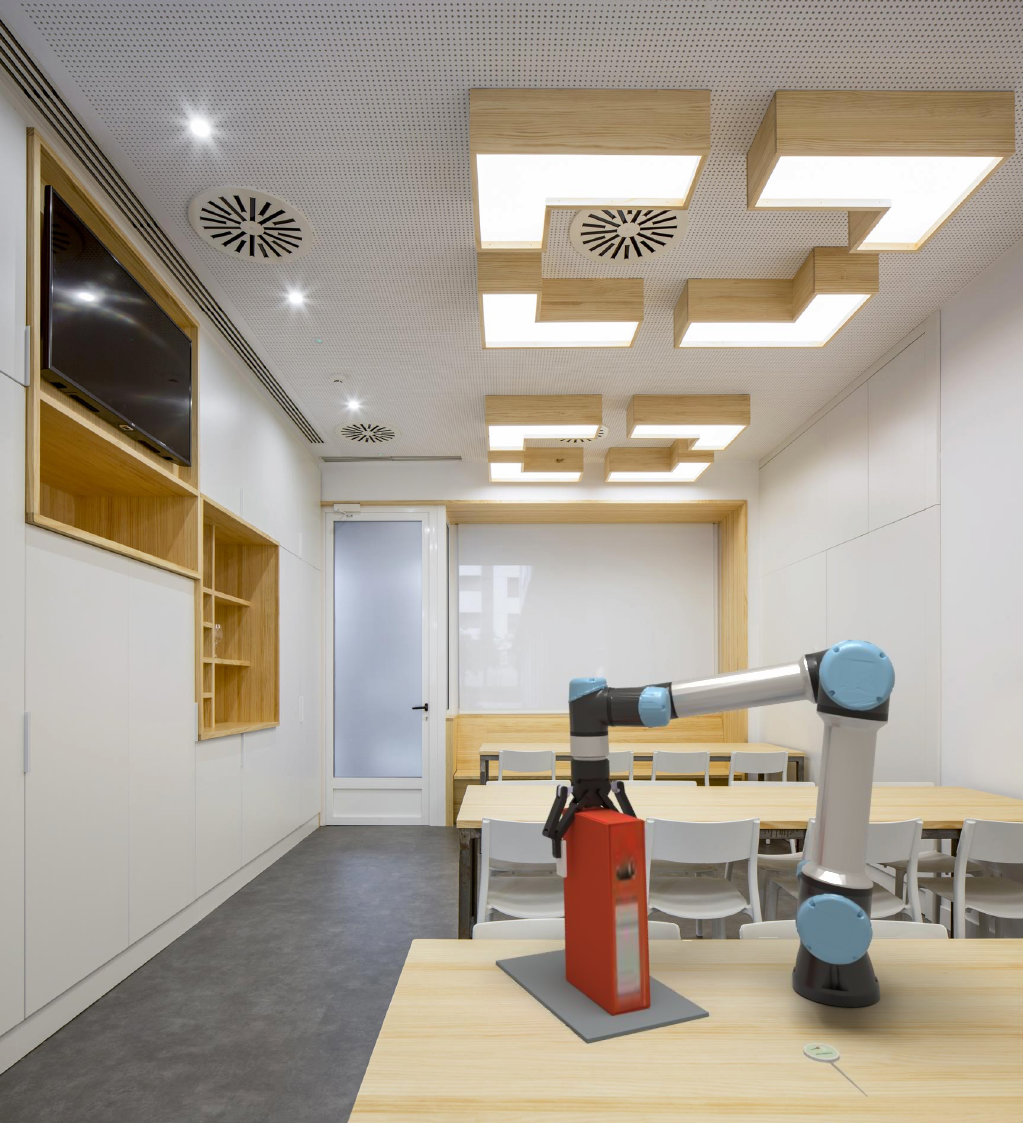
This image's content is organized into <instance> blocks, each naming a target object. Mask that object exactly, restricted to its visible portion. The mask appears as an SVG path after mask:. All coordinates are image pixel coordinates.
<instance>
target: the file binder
mask: <svg viewBox="0 0 1023 1123" xmlns="http://www.w3.org/2000/svg"><path fill="white" fill-rule="evenodd" d="M567 809H568V807H564V810H563V812H562V815H561V817H562V816H563V815H564V813H565V812H566V810H567ZM645 832H646V830H645V820H644V819H642V818H638V817H637V818H635V817H632V816H629V815H626V814H623V812H621V811H619V812H617V811H614V810H610V809H607V808H604V807H603V806H601V807H591V808H583V809H582V811H580V812H577V813H575V819H574V821H573V822H572V824H571V826H570V827H569V829H568V830H567V832H566V833H565V835H564V836H563V838H562V840H565V841H566V863H567V877H563V905H564V907H563V909H564V910H563V912H564V918H563V919H564V944H565V945H564V949H565V964H566V979H567V981H568V982H569V983H571V984H572V985H573V986H575V987H576V988H577V989H579V990H580V991H581V992H582V993H584V994H585V995H586V996H588V997H589V998H590V999H592V1000H593V1001H594V1002H595V1003H597V1004H598V1005H599V1006H601V1007H602V1008H603V1009H605V1010H606V1011H607V1012H608V1013H610V1014H611V1015H612V1016H616V1015H621V1014H625V1013H630V1012H634V1011H639V1010H643V1009H648V1007H651V1004H650V976H651V975H650V949H649V923H648V922H649V919H648V891H647V890H648V889H647V886H648V885H647V862H646V860H647V859H646V855H647V854H646V833H645Z"/></svg>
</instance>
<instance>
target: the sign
mask: <svg viewBox="0 0 1023 1123" xmlns="http://www.w3.org/2000/svg"><path fill="white" fill-rule="evenodd" d="M803 1054H804V1055H805V1057H807V1058H808V1059H810V1060H813V1061H815V1062H819V1063H826V1064H827V1063H829V1064H831V1066H832V1067H834V1068H835V1069H836V1070H837V1071H838V1072H839V1073H840V1074H841V1075H842V1076H843V1077H844V1078H845V1079H847V1081H849V1082H850V1083H851V1084H852V1085H853V1086H854V1087H856V1088H857V1089H858V1090H859V1091H860V1092H861V1093H862V1094H863V1095H864V1096H865V1097H868V1095H867V1094H866V1093H865V1092H864V1091H863V1090H862V1089H861V1088H860V1087H859V1086H858V1085H857V1084H856V1083H855V1082H854V1081H853V1080H851V1078H850V1077H848V1076H847V1075H846V1074H845V1073H844V1072H843V1071H842V1070H841V1069H840V1068H839V1067H838V1066H837V1065H836V1064H835V1062H837V1061H839V1060H840V1052H839V1050H837V1048H835V1047H834V1046H831V1045H828V1044H827V1043H820V1042H819V1043H818V1042H812V1043H807V1044H806V1045H804V1047H803Z"/></svg>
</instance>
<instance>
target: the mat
mask: <svg viewBox="0 0 1023 1123" xmlns="http://www.w3.org/2000/svg"><path fill="white" fill-rule="evenodd" d="M495 965H497V967H499V968H500V969H501V970H502V971H503V972H504V973H506V974H507V975H508V976H509V977H510V978H511V979H512V980H514V982H516V983H518V985H519V986H520V987H522V988H523V989H524V990H525V991H526V992H527V993H528V994H530V995H531V996H532V997H533V998H535V1000H536V1001H538V1002H539V1003H540V1004H541V1005H542V1006H544V1007H545V1009H547V1010H548V1011H550V1013H552V1014H553V1015H554V1016H555V1017H556V1018H558V1019H559V1020H560V1021H561V1022H562V1023H563V1024H564V1025H565V1026H567V1027H568V1028H569V1029H570V1030H572V1032H574V1034H576V1035H577V1036H579V1037H580V1039H582V1040H583V1041H584V1042H585V1043H587V1044H589V1043H590V1044H592V1043H595V1042H599V1041H604V1040H608V1039H613V1038H616V1037H622V1036H625V1035H627V1036H628V1035H632V1034H635V1033H636V1034H637V1033H640V1032H644V1031H648V1030H653V1029H658V1028H662V1027H666V1026H671V1024H672V1025H675V1024H680V1022H681V1023H685V1022H690V1021H693V1020H694V1021H695V1020H697V1019H703V1018H707V1017H710V1012H709V1011H707V1010H706V1009H705V1008H703V1007H701V1006H699V1005H698V1004H696V1003H694V1002H693V1001H691V1000H690V999H688V998H686V997H685V996H684V995H682V994H680V993H679V992H677V991H676V990H673V989H672V988H671V987H669V986H667V985H666V984H664V983H662V982H661V981H659V980H657V979H656V978H655V977H653V976H651V975H650V1004H651V1007H648V1009H643V1010H639V1011H634V1012H630V1013H625V1014H621V1015H616V1016H612V1015H611V1014H610V1013H608V1012H607V1011H606V1010H605V1009H603V1008H602V1007H601V1006H599V1005H598V1004H597V1003H595V1002H594V1001H593V1000H592V999H590V998H589V997H588V996H586V995H585V994H584V993H582V992H581V991H580V990H579V989H577V988H576V987H575V986H573V985H572V984H571V983H569V982H568V981H567V979H566V964H565V948H564V949H559V950H551V951H547V952H540V953H533V954H529V955H523V956H517V957H512V958H511V957H509V958H504V959H498V960H495Z"/></svg>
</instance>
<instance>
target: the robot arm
mask: <svg viewBox="0 0 1023 1123" xmlns="http://www.w3.org/2000/svg"><path fill="white" fill-rule="evenodd" d="M895 682H896V673H895V668H894V666H893V663H892V661H891V659H890V657H889V656H888V655H887V653H886V652H885V651H884V650H883V649H881V648H880V647H878V645H876V644H874V643H872V642H869V641H866V640H861V639H846V640H842V641H840V642H838V643H835V644H834V645H832V646H831V647H830V648H828V649H824V650H820V651H818V652H817V651H816V652H812V653H807V654H802V655H801V657H800V658H799V659H798V660H795V661H790V662H789V661H788V662H784V663H776V664H772V665H771V664H770V665H765V666H759V667H758V666H757V667H753V668H747V669H746V668H745V669H741V670H735V671H728V672H722V673H718V674H709V675H704V676H703V675H702V676H700V677H699V676H698V677H691V678H687V679H681V680H680V679H679V680H673V681H669V682H668V681H666V682H661V683H653V684H645V685H643V686H637V687H636V686H634V687H609V685H608V683H607V679H606V678H605V677H574V678H572V679H571V680H570V682H568V700H567V702H568V713H569V714H568V716H569V718H568V719H569V745H570V746H569V748H570V756H571V757H573V758H571V760H570V777H571V784H570V786H569V785H568V786H567V785H562V784H558V785H557V786H556V790H555V792H556V793H555V799H554V800H553V803H552V806H551V808H550V811H549V813H548V817H547V819H546V821H545V824H544V826H543V829H542V832H541V835H542V836H543V837H545V838H548V839H550V840H551V850H552V851H551V854H552V857H553V858H555V861H556V862H555V863H556V875H558V876H560V877H561V878H564V877H567V863H566V841H565V840H563V836H564V835H565V833H566V832H567V830H568V829H569V827H570V826H571V824H572V822H573V821H574V819H575V813H577V812H580V811H582V809H583V808H591V807H604V808H607V809H610V810H614V811H617V812H620V810H619V809H618V808H617V807H616V806H615V804H614V802H613V800H612V799H611V798H610V797H609V794H610V792H612V793H613V794H614V797H615V799H616V801H617V803H618V805H619V807H620V809H621V813H623V814H626V815H629V816H632V817H635V818H638V816H637V814H636V812H635V811H634V809H633V808H634V807H633V806H632V803H631V801H630V800H629V798H628V795H627V793H626V789H625V782H624V781H623V780H617V779H614V780H613V781H612V782H610V776H611V774H610V773H611V770H610V760H609V758H607V757H608V756H609V755H610V744H609V743H610V742H609V727H612V728H615V727H625V728H626V727H631V728H649V729H652V728H661V727H666V726H668V725H669V724H670V721H671V720H677V719H682V718H688V717H695V716H703V715H708V714H716V713H723V712H730V711H737V710H745V709H750V708H751V709H752V708H758V707H766V706H772V705H779V704H786V703H793V702H800V701H809V702H810V703H811V704H814V705H816V715H818V717H819V718H820V719H821V721H822V722H823V736H822V745H821V756H820V757H821V758H820V766H819V777H818V787H817V797H816V798H817V800H816V811H815V819H814V830H813V840H812V853H811V859H807V860H806V859H803V860H801V861H799V862H798V863H797V864H796V865H797V866H796V874H795V876H796V879H797V881H796V882H797V910H796V911H797V912H796V915H795V929H796V932H797V934H798V936H799V947H798V950H797V955H796V961H795V966H794V967H793V969H792V972H791V978H792V979H791V982H792V984H791V985H792V989H793V990H794V991H795V992H796V993H798V994H799V995H800V996H802V997H804V998H806V999H808V1000H810V1001H813V1002H818V1003H820V1004H825V1005H829V1006H835V1007H843V1008H845V1007H846V1008H847V1007H848V1008H856V1007H857V1008H859V1007H866V1006H870V1005H873V1004H875V1003H877V1002H878V1001H880V998H881V990H880V989H881V988H880V982H879V979H878V977H877V975H876V973H875V970H874V966H873V964H872V960H871V958H870V954H869V952H868V950H869V948H870V945H871V942H872V940H873V934H874V933H873V927H872V922H871V915H872V904H873V892H874V882H873V880H872V879H871V878H870V877H869V875H868V874H867V873H866V871H865V870H866V860H867V848H868V838H869V837H868V836H869V825H870V817H871V816H870V815H871V806H872V805H871V803H872V792H873V782H874V781H873V780H874V769H875V760H876V759H875V758H876V747H877V737H878V731H879V730H880V729H882V728H883V727H884V726H886V725H888V721H889V710H890V704H891V702H890V700H891V694H892V692H893V689H894V688H895ZM571 795H572V799H570V802H569V804H568V807H567V808H568V809H567V810H566V812H565V813H564V815H563V816H562V812H563V810H564V808H566V804H567V801H568V798H569V797H570V796H571Z"/></svg>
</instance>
